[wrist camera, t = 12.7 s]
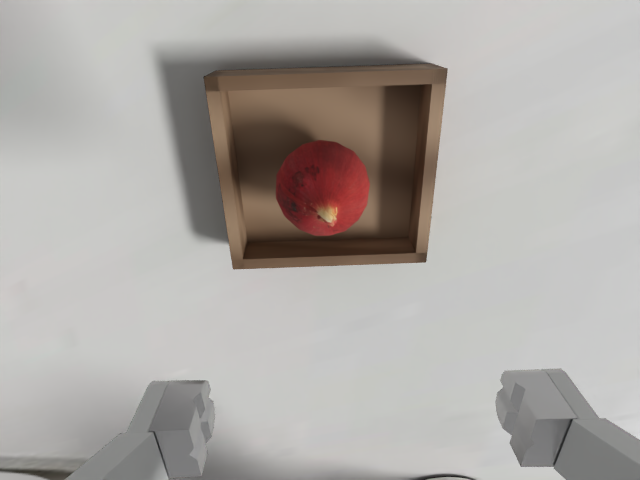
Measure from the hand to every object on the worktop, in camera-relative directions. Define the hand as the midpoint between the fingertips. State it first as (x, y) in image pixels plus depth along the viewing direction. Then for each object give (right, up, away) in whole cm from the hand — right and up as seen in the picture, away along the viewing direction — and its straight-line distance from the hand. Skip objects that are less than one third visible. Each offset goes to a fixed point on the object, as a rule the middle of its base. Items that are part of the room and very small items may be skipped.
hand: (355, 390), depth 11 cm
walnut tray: (-1, +10, +18) cm, 21 cm away
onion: (-1, +9, +17) cm, 20 cm away
